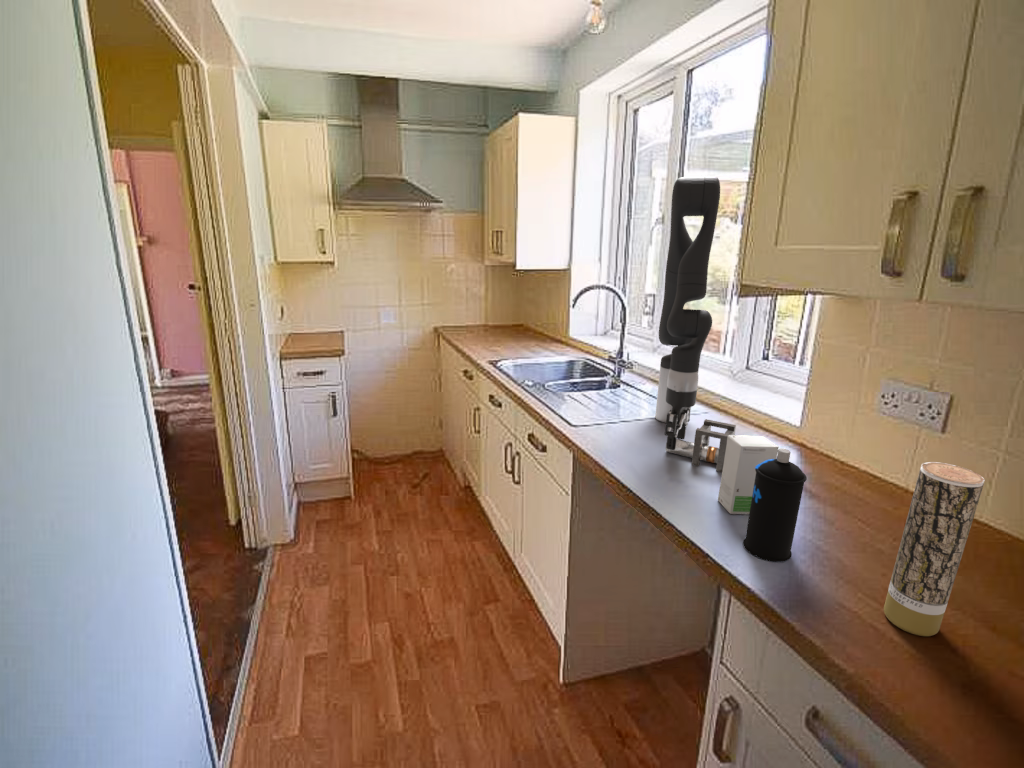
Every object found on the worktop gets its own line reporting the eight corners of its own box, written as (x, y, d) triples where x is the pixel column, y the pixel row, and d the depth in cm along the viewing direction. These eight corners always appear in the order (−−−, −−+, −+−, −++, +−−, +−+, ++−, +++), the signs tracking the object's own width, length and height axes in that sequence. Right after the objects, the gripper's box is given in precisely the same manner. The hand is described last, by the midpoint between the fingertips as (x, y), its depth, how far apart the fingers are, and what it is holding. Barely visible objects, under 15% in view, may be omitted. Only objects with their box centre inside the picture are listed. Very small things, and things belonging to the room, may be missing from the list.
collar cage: (701, 452, 137) (705, 419, 135) (731, 459, 133) (736, 425, 130) (691, 464, 130) (695, 429, 127) (722, 472, 125) (727, 436, 123)
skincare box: (729, 515, 106) (739, 446, 102) (716, 499, 113) (725, 434, 108) (768, 514, 107) (780, 446, 102) (753, 499, 113) (763, 434, 108)
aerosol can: (797, 549, 95) (817, 451, 89) (782, 568, 89) (802, 464, 83) (752, 531, 100) (768, 438, 95) (735, 548, 95) (751, 450, 89)
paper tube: (929, 646, 72) (976, 488, 65) (875, 618, 78) (913, 469, 71) (944, 626, 76) (991, 475, 69) (892, 600, 82) (930, 458, 75)
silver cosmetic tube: (665, 454, 136) (665, 441, 135) (670, 447, 139) (670, 434, 138) (728, 469, 128) (729, 456, 126) (731, 461, 131) (733, 448, 129)
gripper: (675, 377, 139) (669, 432, 144) (659, 390, 128) (653, 449, 132) (703, 382, 135) (696, 438, 140) (689, 395, 124) (682, 456, 128)
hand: (675, 443), depth 136 cm, fingers open, 8 cm apart
